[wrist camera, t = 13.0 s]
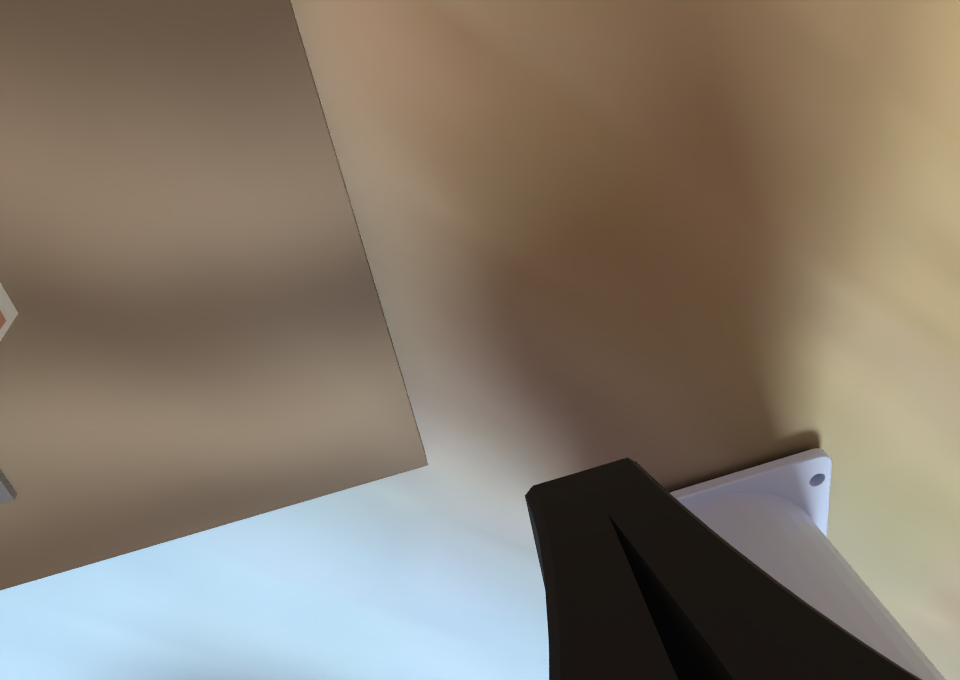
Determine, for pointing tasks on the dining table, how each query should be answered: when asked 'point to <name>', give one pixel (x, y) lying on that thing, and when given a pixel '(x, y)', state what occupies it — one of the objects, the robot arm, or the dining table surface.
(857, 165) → the dining table surface
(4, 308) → the cream box brown top
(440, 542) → the dining table surface
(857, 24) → the dining table surface
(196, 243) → the shelf
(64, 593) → the dining table surface
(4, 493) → the bookend
